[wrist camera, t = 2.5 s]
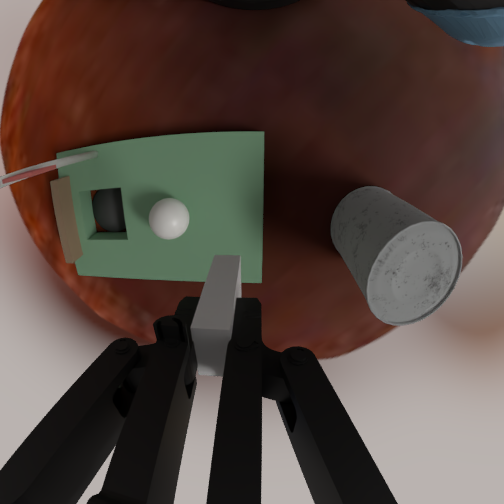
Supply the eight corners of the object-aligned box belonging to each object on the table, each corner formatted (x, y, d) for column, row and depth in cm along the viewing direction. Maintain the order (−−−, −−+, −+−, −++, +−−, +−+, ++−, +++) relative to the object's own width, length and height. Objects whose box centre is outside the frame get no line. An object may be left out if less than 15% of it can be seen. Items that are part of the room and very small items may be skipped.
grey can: (354, 276, 33) (389, 342, 22) (314, 217, 30) (345, 269, 19) (414, 234, 30) (470, 284, 19) (382, 170, 27) (445, 197, 16)
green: (68, 150, 27) (-34, 181, 12) (263, 131, 26) (268, 129, 11) (87, 266, 34) (17, 340, 18) (261, 272, 33) (261, 383, 18)
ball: (155, 194, 27) (140, 204, 23) (192, 193, 27) (181, 203, 23) (158, 231, 28) (145, 245, 25) (194, 231, 28) (185, 246, 25)
